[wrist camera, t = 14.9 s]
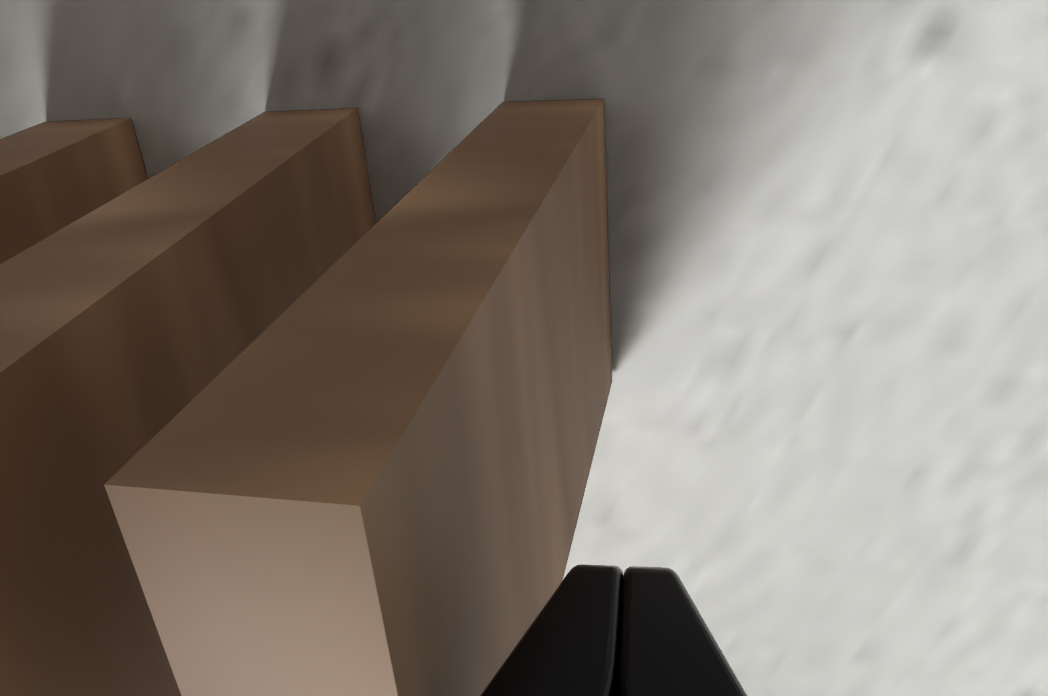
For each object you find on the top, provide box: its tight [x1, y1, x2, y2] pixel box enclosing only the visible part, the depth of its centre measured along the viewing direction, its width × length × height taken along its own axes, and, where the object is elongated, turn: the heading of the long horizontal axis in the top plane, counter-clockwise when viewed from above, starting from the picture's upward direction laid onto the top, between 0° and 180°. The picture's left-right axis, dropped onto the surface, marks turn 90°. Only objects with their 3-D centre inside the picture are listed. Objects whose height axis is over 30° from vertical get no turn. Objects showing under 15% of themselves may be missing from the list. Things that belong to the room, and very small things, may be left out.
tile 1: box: [104, 99, 612, 696], centre depth 10 cm, size 2×5×10 cm, turn 4°
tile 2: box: [0, 108, 376, 696], centre depth 11 cm, size 2×5×10 cm, turn 4°
